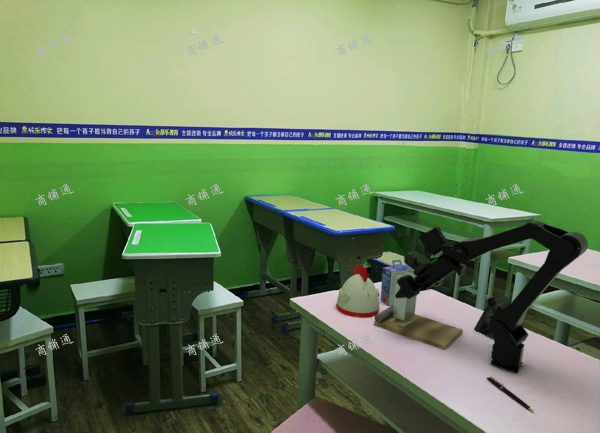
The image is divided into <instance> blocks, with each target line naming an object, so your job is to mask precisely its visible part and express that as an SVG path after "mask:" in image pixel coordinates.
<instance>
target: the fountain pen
mask: <svg viewBox="0 0 600 433" xmlns="http://www.w3.org/2000/svg"><path fill="white" fill-rule="evenodd" d="M486 379H487V380H488V382H490V383H491V384H492V385H493V386H494V387H496V388H497V389H498V390H500V391H501V392H503V393H504V394H505V395H507V396H508V397H510V398H511V399H512V400H513V401H515V402H517V403H518V404H519V405H521V406H523V407H524V408H525V409H526V410H529V411H531V412H535V410H534V409H533V408H531V406H530V405H529V404H528V403H527V402H525V401H524V400H522V399H521V398H520V397H519V396H517V395H516V394H515V393H513V392H512V391H511V390H509V389H507V388H506V386H504V385H505V384H504V383H502V382H500V381H499V380H498V379H496V378H495V377H492V376H487V378H486Z"/></svg>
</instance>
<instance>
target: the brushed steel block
mask: <svg viewBox="0 0 600 433" xmlns="http://www.w3.org/2000/svg"><path fill="white" fill-rule="evenodd" d="M405 275H411V276H412V277H413V279H414V280H415V278H414V277H416V276H415V274H413V273H409V272H405V273H398V275H397V276H396V287H395V295H396V293H397V292H398V291H399V289H400V286H399V285H398V283H397V280H398V279H399V278H401V277H402V276H405ZM415 281H417V280H415ZM417 296H418V295H417ZM417 296H415V297H413V298H411V299H408V298H396V297H394V307H393V317H395V318H398V319H400V320H403V321H405V320H407V319H409V318H411V317H413V316H414V315H415V313H416V305H417V304H416V303H417Z"/></svg>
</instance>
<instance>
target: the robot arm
mask: <svg viewBox="0 0 600 433" xmlns="http://www.w3.org/2000/svg"><path fill="white" fill-rule="evenodd" d="M417 240H418V241H419V243H420V244H421V246H422V247H423V249H424V250H425V252H426V253H427V254H428V256H433V257H436V258H434V260H432V261H429V260H428V259H427V258H426V257H425V256H424V255H422V254H421V253H419V252H418V251H417V250H413V251H410V252H408V253H407V254H406V255H405V256H404V257H403V258H404V259H403V263H404V265H407V266H409V267H411V268H413V269H414V272H413V273H414V274H415V276H416V277H414V278H415V280H417V281H415V280H414V279H413V277H412V276H411V275H405V276H402V277H401V278H399V279H398V280H397V283H398V285H399V286H400V289H399V291H398V292H397V293H396V295H395V297H396V298H408V299H411V298H413V297H415V296H418V295H419V294H420V292H425V291H430V290H432V289H434V288H436V287H438V286H441V285H442V284H444V281H445V280H446V279H447V277H448V276H450V275H451V274H453V273H455V272H456V274H457V275H458V276H462V275H464V274H467V273H466V272H467V271H466V268H467V265H466V263H469V262H471V261H474V260H476V259H477V258H480V257H481V256H483V255H485V254H487V253H489V252H491V251H494V250H497V249H500V248H501V249H502V248H504V247H507V246H510V245H515V244H517V243H520V242H521V243H522V242H523V241H527V240H532V241H535V242H536V243H538V244H540V245H541V246H543V247H544V248H546V249H548V252H547V255H546V258H545V260H544V263H543V264H542V265H541V267H540V268H538V270H537V271H536V273H535V274H534V275H533V276H532V277H531V279H530V280H529V281H528V282H527V283H526V284H525V285H524V287H523V288H522V289H521V291H520V292H519V293H518V294H517V296H516V297H515V298H514V299H513V301H511V303H510V302H509V301H506V302H504V303H502V304H501V305H499V306H498V307H497V309H496V311H495V313H494V314H493V315H491V316H490V317H489V318H491V320H490V321H489V328H490V331H491V332H492V334H493V338H494V340H493V341H494V342H493V344H492V348H491V355H490V359H491V360H490V365H492V366H494V367H497V368H500V369H503V370H505V371H508V372H512V373H514V374H518V372H519V371H520V369H521V368H522V366H523V364H524V363H523V361H522V360H523V355H524V349H525V344H524V342H525V341H526V340H527V338H528V337H529V333H528V331H527V330H526V329H525V327H524V326H523V324H522V323H523V322H524V320H525V319H526V318H525V317H526V315H527V312H528V311H529V309H530V308H531V306H532V305H533V304H534V303H535V302H536V301H537V299H538V298H540V297H541V295H543V293H544V291H546V289H548V287H549V286H550V284H552V282H553V281H554V280H555V279H556V277H557V276H559V274H561V272H562V270H564V269H565V268H566V267H567V266H569V265H570V264H572V263H573V262H574V261H576V260H577V259H578V258H579V257H581V256H582V255H583V254H584V253H586V251H587V250H588V249H589V243H588V241H589V240H588V239H587V237H586V236H585V235H583V234H582V233H581V232H578V231H567V230H565V229H563V228H560V227H556V226H553V225H550V224H547V223H544V222H543V221H540V220H538V219H537V220H532V221H529V222H526V223H525V224H522V225H520V226H517V227H513V228H510V229H507V230H504V231H501V232H498V233H496V234H491V235H489V236H484V237H483V236H481V237H473V238H467V239H464V240H461V241H457V240H453V241H452V240H451V241H449V240H448V239H447V238H446V236H445V235H444V233H443V232H442V230H441V228H440V226H435V227H433V228H432V229H430V230H428V231H426V232H424V233H422V234H421V235H419V236H418V237H417ZM438 255H439V256H438ZM437 256H438V257H437Z"/></svg>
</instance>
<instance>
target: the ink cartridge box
mask: <svg viewBox="0 0 600 433" xmlns="http://www.w3.org/2000/svg"><path fill="white" fill-rule="evenodd" d="M391 263H392V266H386V267H384V266H383V267H382V274H381V285H380V286H381V287H380V288H381V289H380V301H381V302H382V303H383V304H385V305H387V306H389V307H390V306H392V305H394V297H395V287H396V276H397V275H398V273H405V272H409V273H413V272H414V271H415V270H414V269H413V268H411V267H409V266H408V265H406V264H403V263H402V260H401V259H395V260H394V259H393V260H391ZM395 263H398V264H395ZM413 274H414V273H413Z"/></svg>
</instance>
